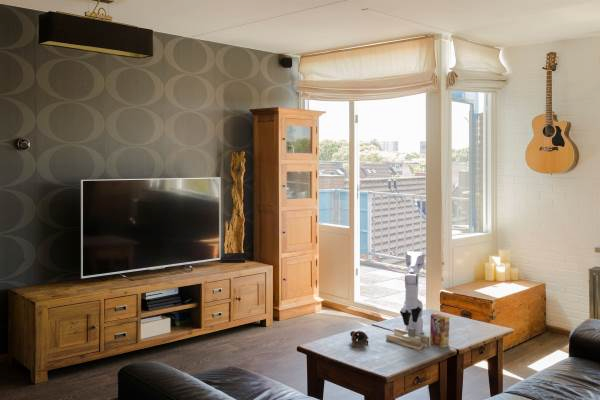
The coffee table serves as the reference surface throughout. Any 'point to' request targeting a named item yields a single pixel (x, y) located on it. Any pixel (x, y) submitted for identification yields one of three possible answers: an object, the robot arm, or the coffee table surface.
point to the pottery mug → (358, 338)
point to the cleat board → (399, 340)
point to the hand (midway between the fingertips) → (410, 323)
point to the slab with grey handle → (412, 335)
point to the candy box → (439, 330)
